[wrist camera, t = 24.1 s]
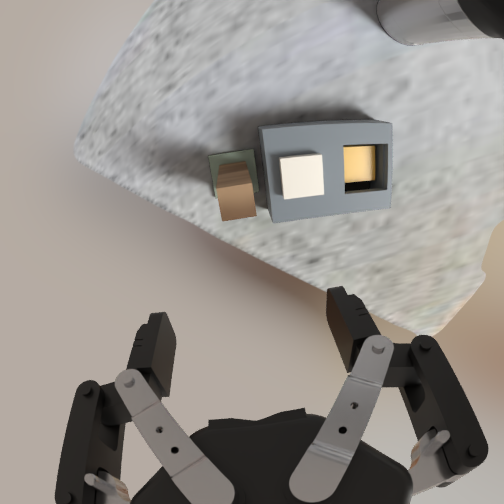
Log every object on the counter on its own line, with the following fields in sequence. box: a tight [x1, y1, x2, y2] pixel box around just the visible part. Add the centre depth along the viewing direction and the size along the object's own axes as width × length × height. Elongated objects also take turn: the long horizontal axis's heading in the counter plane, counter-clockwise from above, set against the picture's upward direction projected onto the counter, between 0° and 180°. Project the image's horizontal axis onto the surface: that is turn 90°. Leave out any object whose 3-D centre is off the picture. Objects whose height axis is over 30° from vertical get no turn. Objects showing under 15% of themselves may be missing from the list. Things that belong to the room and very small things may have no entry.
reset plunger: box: [343, 144, 375, 183], centre depth 37 cm, size 5×5×2 cm
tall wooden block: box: [216, 161, 257, 221], centre depth 33 cm, size 4×4×11 cm
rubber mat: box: [208, 149, 259, 198], centre depth 38 cm, size 6×6×1 cm
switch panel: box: [258, 120, 393, 223], centre depth 36 cm, size 12×17×5 cm
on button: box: [279, 153, 324, 199], centre depth 34 cm, size 5×5×4 cm
